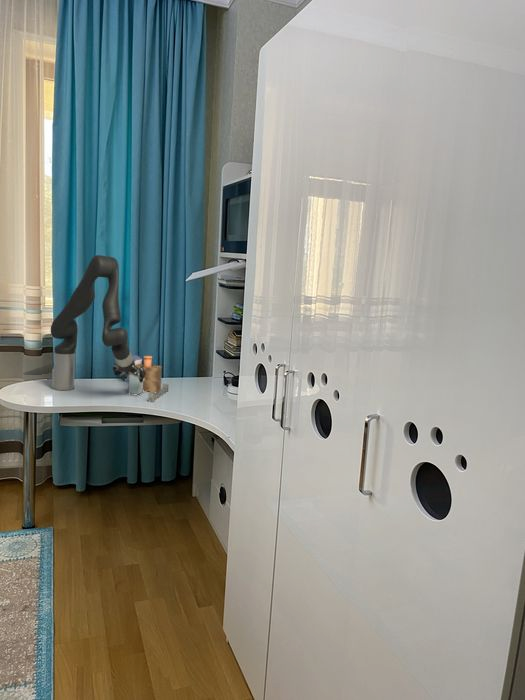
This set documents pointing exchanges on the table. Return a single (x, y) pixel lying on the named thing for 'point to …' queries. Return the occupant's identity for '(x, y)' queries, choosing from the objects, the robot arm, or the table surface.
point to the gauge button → (147, 361)
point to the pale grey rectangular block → (135, 385)
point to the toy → (136, 362)
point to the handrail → (158, 393)
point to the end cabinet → (151, 378)
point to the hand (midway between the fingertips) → (132, 379)
